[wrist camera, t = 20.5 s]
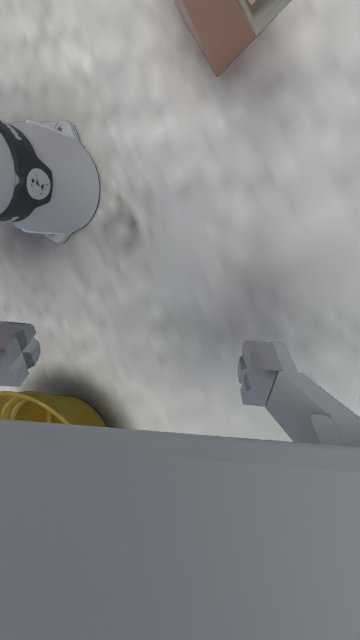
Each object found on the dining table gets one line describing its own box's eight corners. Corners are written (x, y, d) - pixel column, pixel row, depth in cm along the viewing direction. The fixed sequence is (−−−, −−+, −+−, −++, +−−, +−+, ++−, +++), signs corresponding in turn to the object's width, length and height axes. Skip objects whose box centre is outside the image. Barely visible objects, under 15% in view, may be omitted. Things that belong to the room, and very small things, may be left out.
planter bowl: (167, 414, 53) (132, 467, 41) (120, 510, 66) (82, 571, 54) (39, 333, 59) (-25, 358, 47) (19, 435, 72) (-36, 475, 60)
